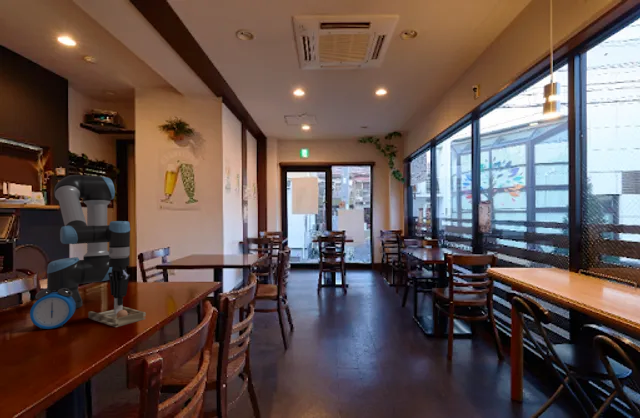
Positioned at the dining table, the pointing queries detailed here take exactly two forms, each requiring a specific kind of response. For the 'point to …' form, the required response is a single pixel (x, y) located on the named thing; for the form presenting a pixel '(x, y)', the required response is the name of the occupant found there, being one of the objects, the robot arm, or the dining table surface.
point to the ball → (122, 313)
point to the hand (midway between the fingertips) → (118, 312)
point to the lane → (112, 319)
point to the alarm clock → (52, 308)
